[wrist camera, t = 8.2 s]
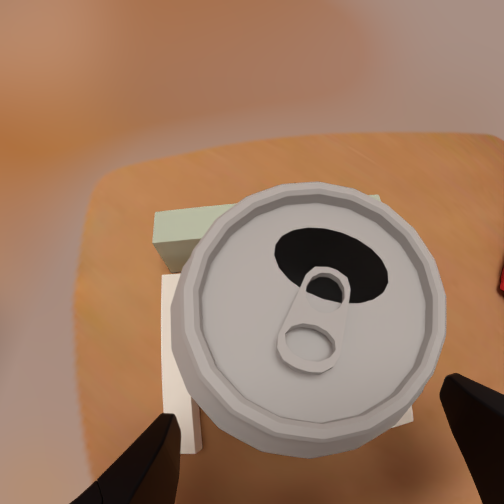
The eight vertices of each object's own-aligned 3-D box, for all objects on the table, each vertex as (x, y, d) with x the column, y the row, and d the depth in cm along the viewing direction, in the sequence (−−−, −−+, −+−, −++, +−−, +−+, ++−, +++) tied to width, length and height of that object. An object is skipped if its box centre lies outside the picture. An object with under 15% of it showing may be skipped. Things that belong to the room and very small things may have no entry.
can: (361, 322, 18) (475, 212, 7) (322, 440, 15) (428, 496, 4) (247, 283, 19) (231, 130, 8) (198, 396, 16) (93, 385, 5)
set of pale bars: (398, 420, 15) (431, 422, 11) (176, 447, 15) (154, 459, 11) (361, 229, 21) (378, 194, 17) (171, 245, 21) (155, 212, 17)
